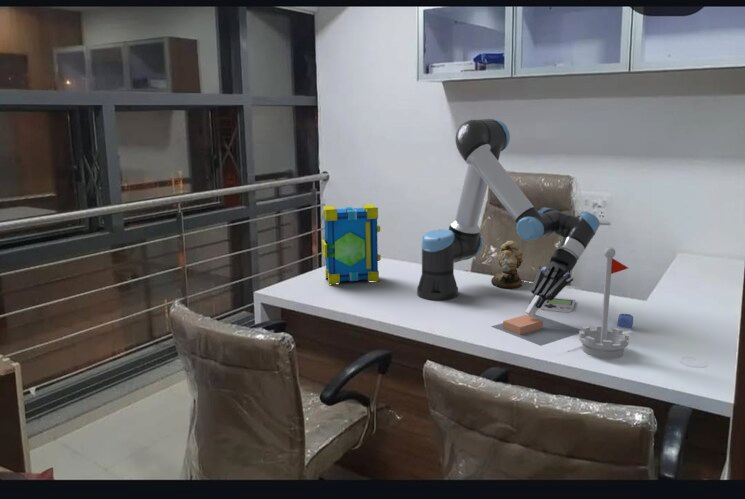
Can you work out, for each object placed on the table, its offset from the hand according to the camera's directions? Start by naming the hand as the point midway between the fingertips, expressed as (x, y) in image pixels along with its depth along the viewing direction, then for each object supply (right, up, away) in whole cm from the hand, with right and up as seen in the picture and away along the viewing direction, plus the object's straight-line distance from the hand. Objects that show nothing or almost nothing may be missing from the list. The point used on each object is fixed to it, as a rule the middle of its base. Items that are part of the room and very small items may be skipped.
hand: (528, 314), depth 194 cm
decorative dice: (+30, -4, +1) cm, 30 cm away
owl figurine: (+4, +7, +52) cm, 53 cm away
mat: (+2, -5, -1) cm, 5 cm away
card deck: (+2, -2, +2) cm, 4 cm away
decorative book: (-56, +7, +58) cm, 81 cm away
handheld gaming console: (+16, 0, +22) cm, 27 cm away
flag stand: (+16, -9, -18) cm, 26 cm away
